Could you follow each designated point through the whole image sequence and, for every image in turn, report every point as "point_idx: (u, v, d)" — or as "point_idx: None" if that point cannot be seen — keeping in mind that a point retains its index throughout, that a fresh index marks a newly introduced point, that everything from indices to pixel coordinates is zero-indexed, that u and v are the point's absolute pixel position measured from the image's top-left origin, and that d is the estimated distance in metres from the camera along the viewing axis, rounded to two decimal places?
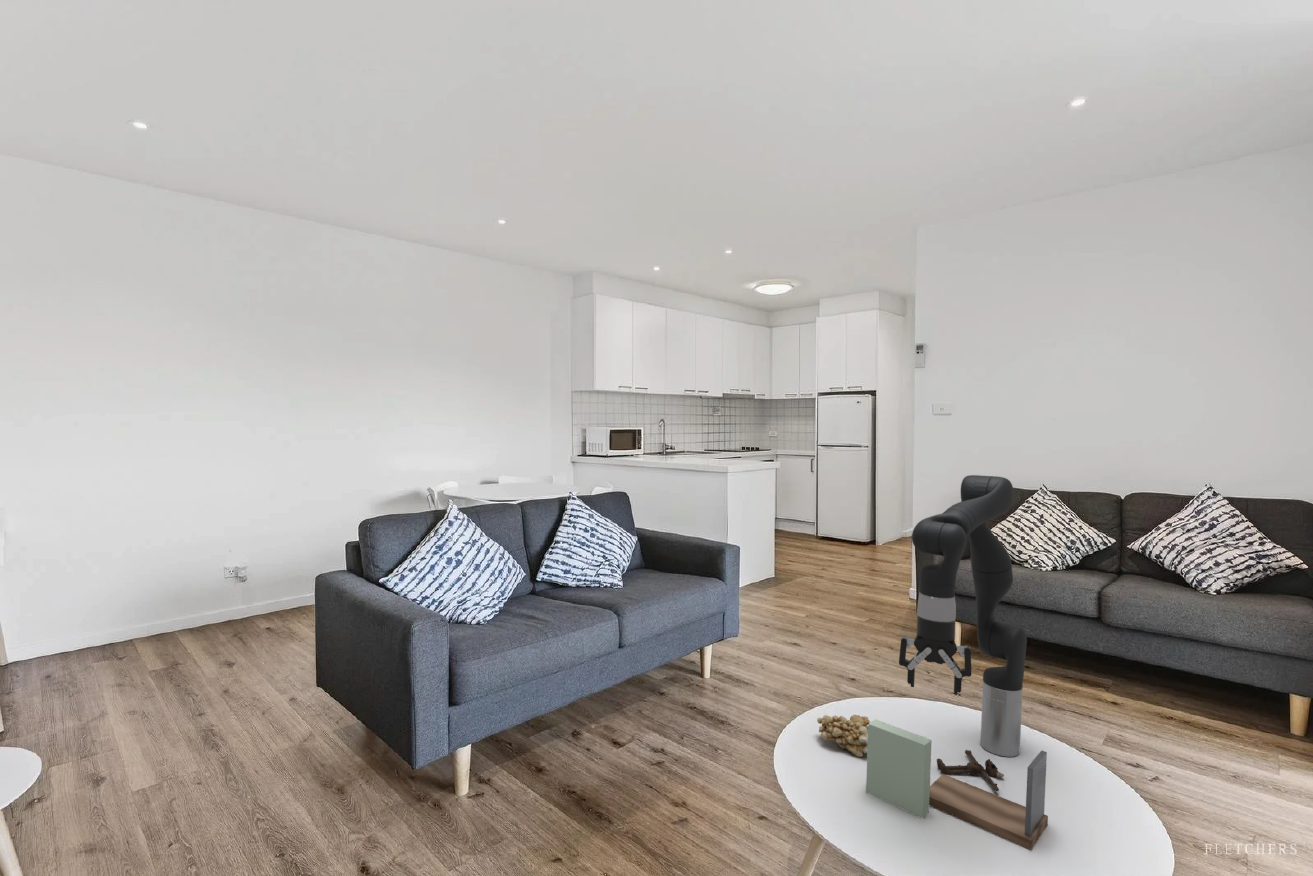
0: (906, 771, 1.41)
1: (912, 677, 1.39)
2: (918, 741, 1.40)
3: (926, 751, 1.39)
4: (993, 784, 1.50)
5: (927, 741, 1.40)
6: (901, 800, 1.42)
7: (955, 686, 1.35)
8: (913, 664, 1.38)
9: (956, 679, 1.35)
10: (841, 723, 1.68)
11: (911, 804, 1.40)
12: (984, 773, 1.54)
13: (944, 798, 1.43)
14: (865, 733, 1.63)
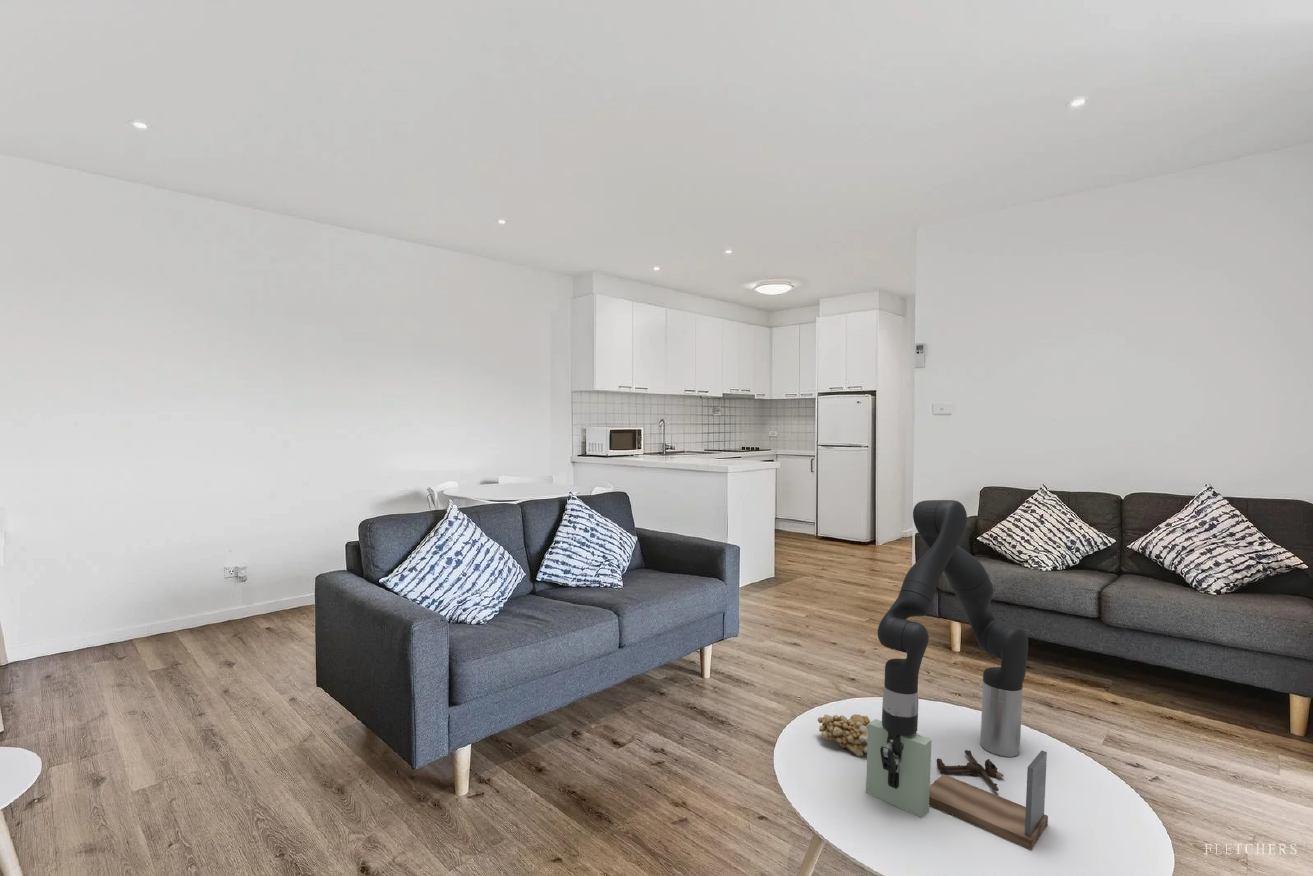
0: (906, 771, 1.41)
1: (898, 778, 1.42)
2: (918, 741, 1.40)
3: (926, 750, 1.39)
4: (993, 784, 1.50)
5: (927, 741, 1.40)
6: (901, 800, 1.42)
7: None
8: (898, 766, 1.42)
9: None
10: (841, 722, 1.68)
11: (911, 804, 1.40)
12: (984, 773, 1.54)
13: (944, 798, 1.43)
14: (865, 732, 1.64)
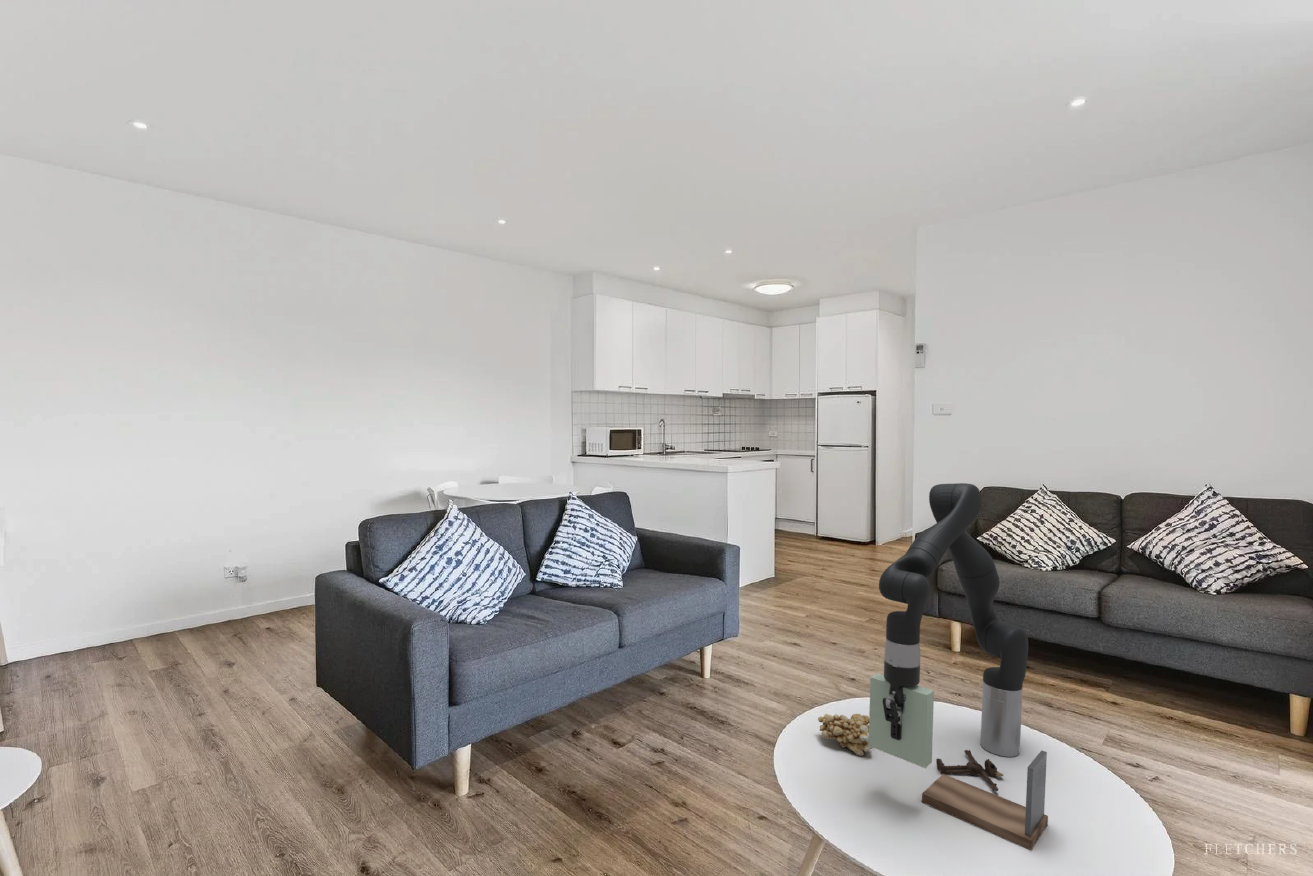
0: (908, 722, 1.41)
1: (901, 730, 1.42)
2: (920, 692, 1.39)
3: (928, 701, 1.38)
4: (992, 784, 1.50)
5: (929, 691, 1.40)
6: (904, 751, 1.42)
7: None
8: (901, 717, 1.41)
9: None
10: (842, 722, 1.68)
11: (914, 755, 1.40)
12: (983, 773, 1.54)
13: (944, 798, 1.43)
14: (866, 732, 1.64)
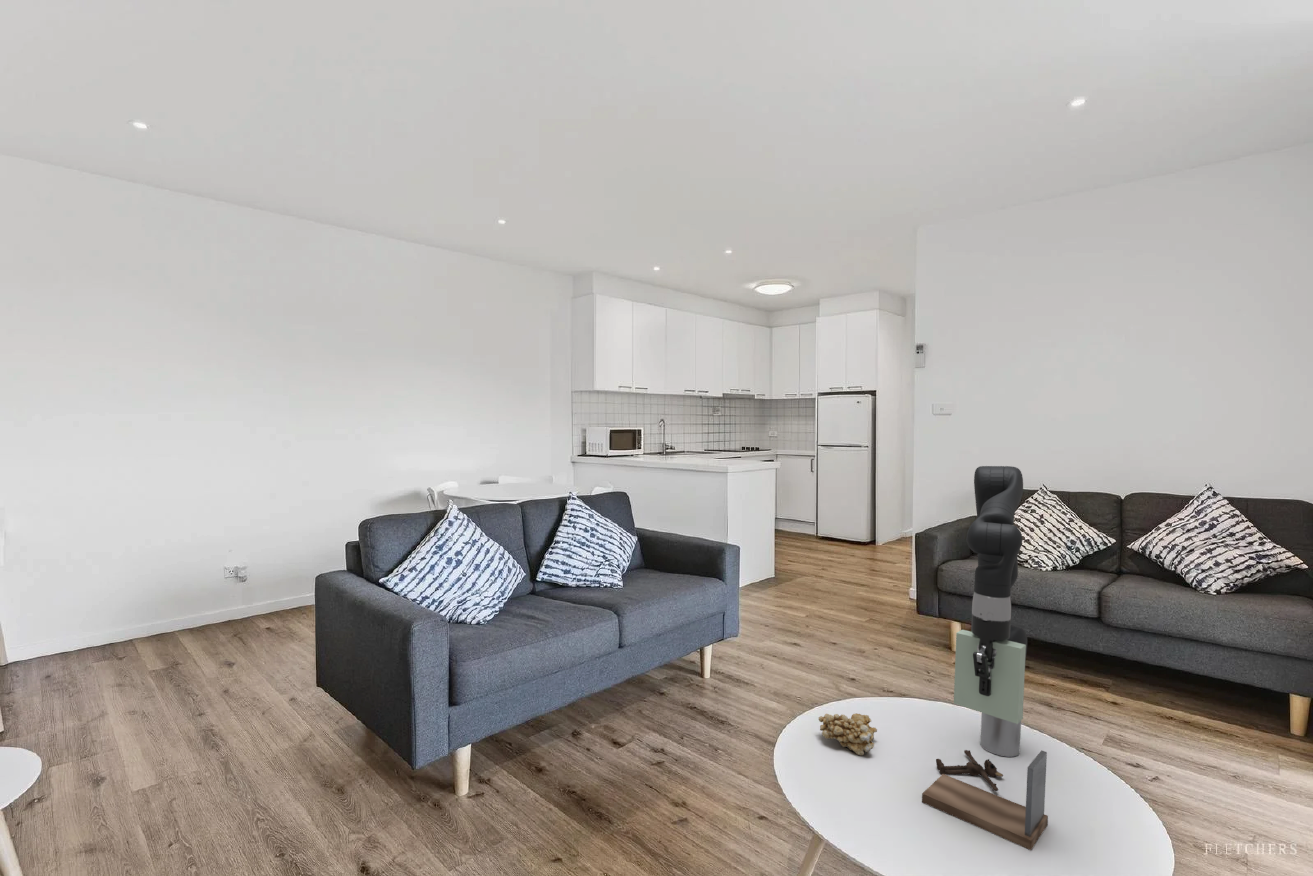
0: (999, 677, 1.37)
1: (990, 686, 1.38)
2: (1012, 645, 1.36)
3: (1021, 654, 1.35)
4: (992, 784, 1.50)
5: (1022, 645, 1.36)
6: (994, 707, 1.38)
7: None
8: (991, 673, 1.38)
9: None
10: (842, 721, 1.69)
11: (1005, 710, 1.36)
12: (983, 773, 1.54)
13: (944, 798, 1.43)
14: (866, 731, 1.64)
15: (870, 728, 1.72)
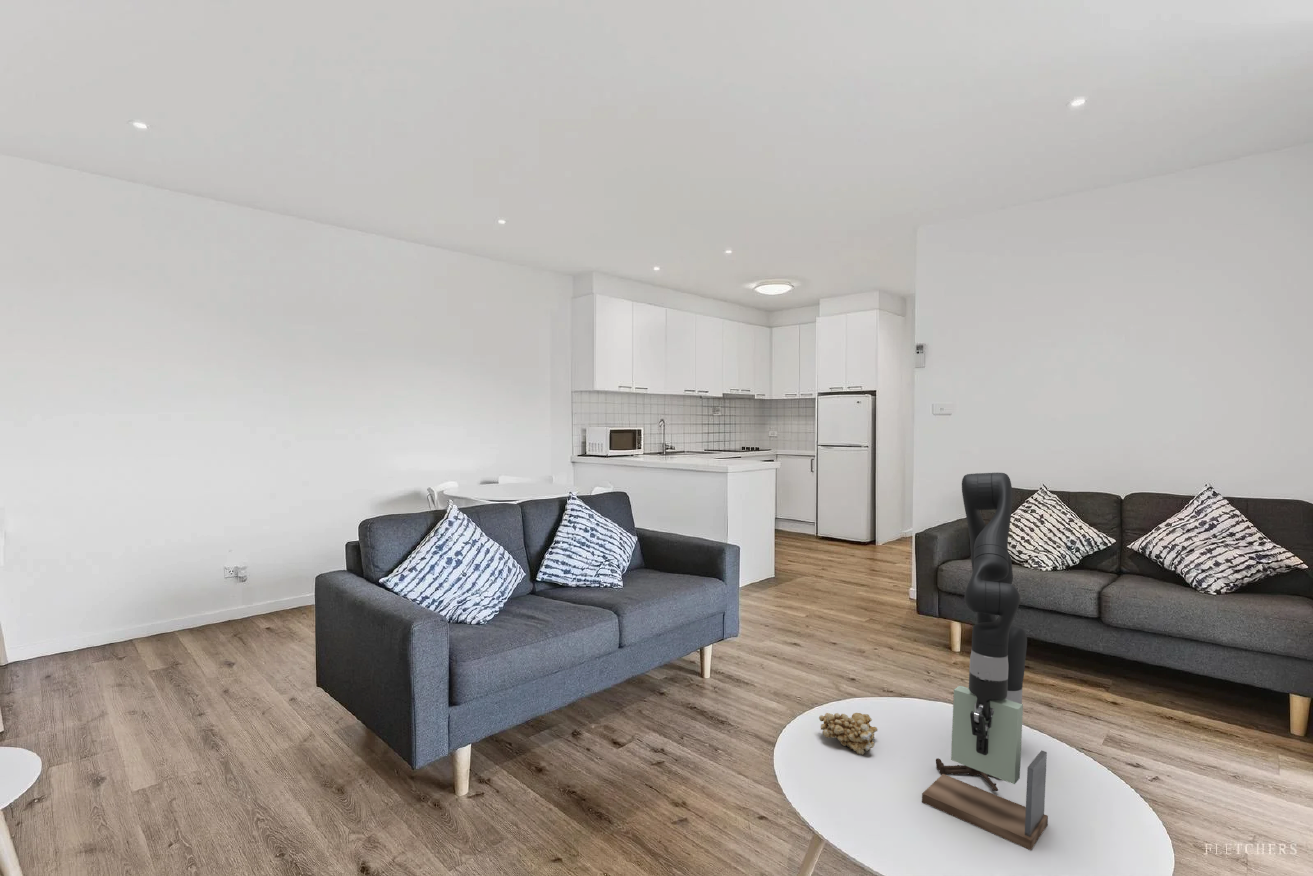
0: (996, 737, 1.37)
1: (987, 745, 1.38)
2: (1010, 705, 1.36)
3: (1018, 715, 1.35)
4: (992, 784, 1.50)
5: (1019, 705, 1.36)
6: (991, 766, 1.38)
7: None
8: (988, 732, 1.38)
9: None
10: (843, 721, 1.69)
11: (1002, 770, 1.36)
12: (983, 773, 1.54)
13: (944, 798, 1.43)
14: (866, 730, 1.65)
15: (870, 727, 1.72)
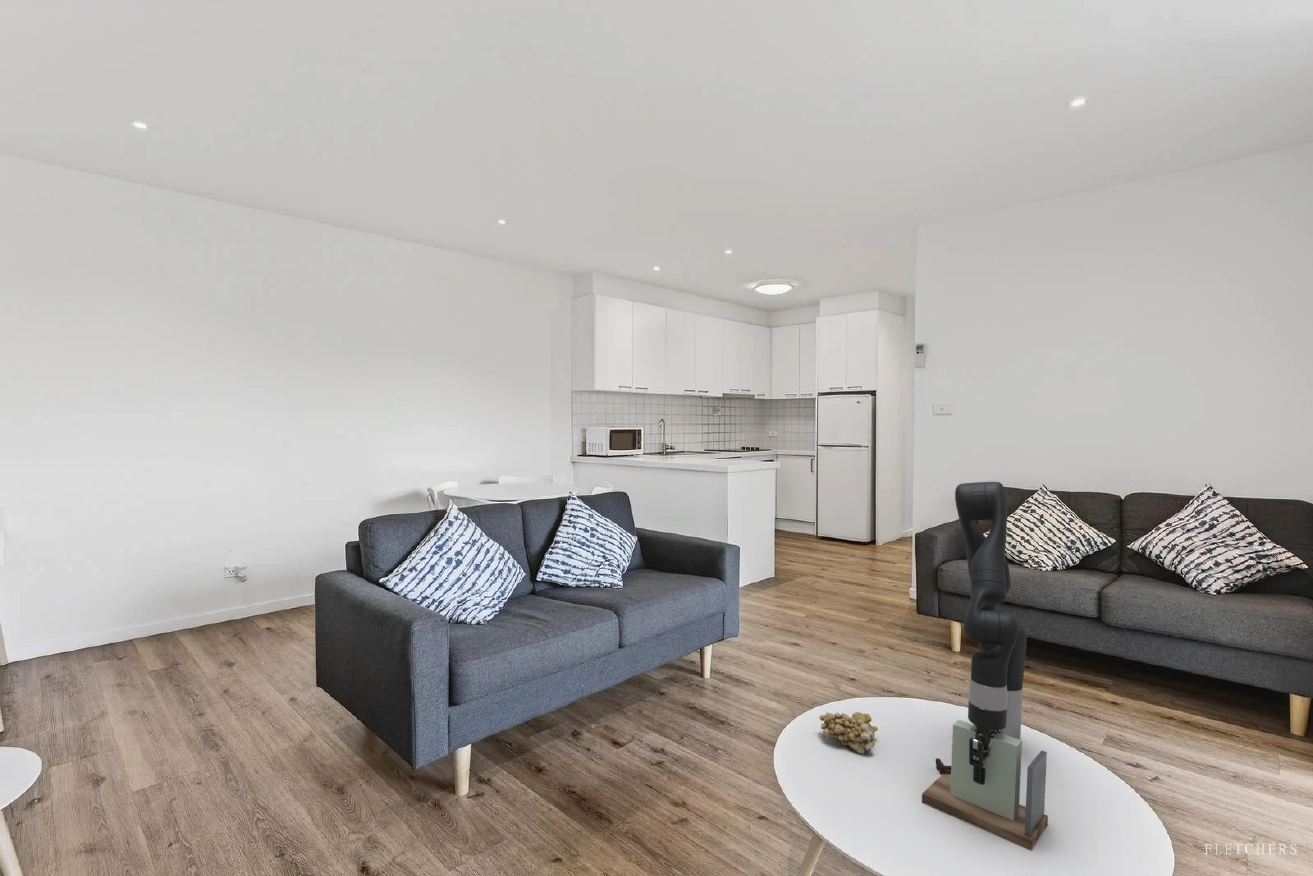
0: (995, 773, 1.38)
1: (984, 774, 1.37)
2: (1009, 742, 1.36)
3: (1017, 752, 1.35)
4: None
5: (1018, 742, 1.36)
6: (990, 802, 1.38)
7: None
8: (985, 761, 1.37)
9: None
10: (843, 720, 1.69)
11: (1002, 806, 1.37)
12: None
13: (944, 798, 1.43)
14: (867, 730, 1.65)
15: (871, 727, 1.72)
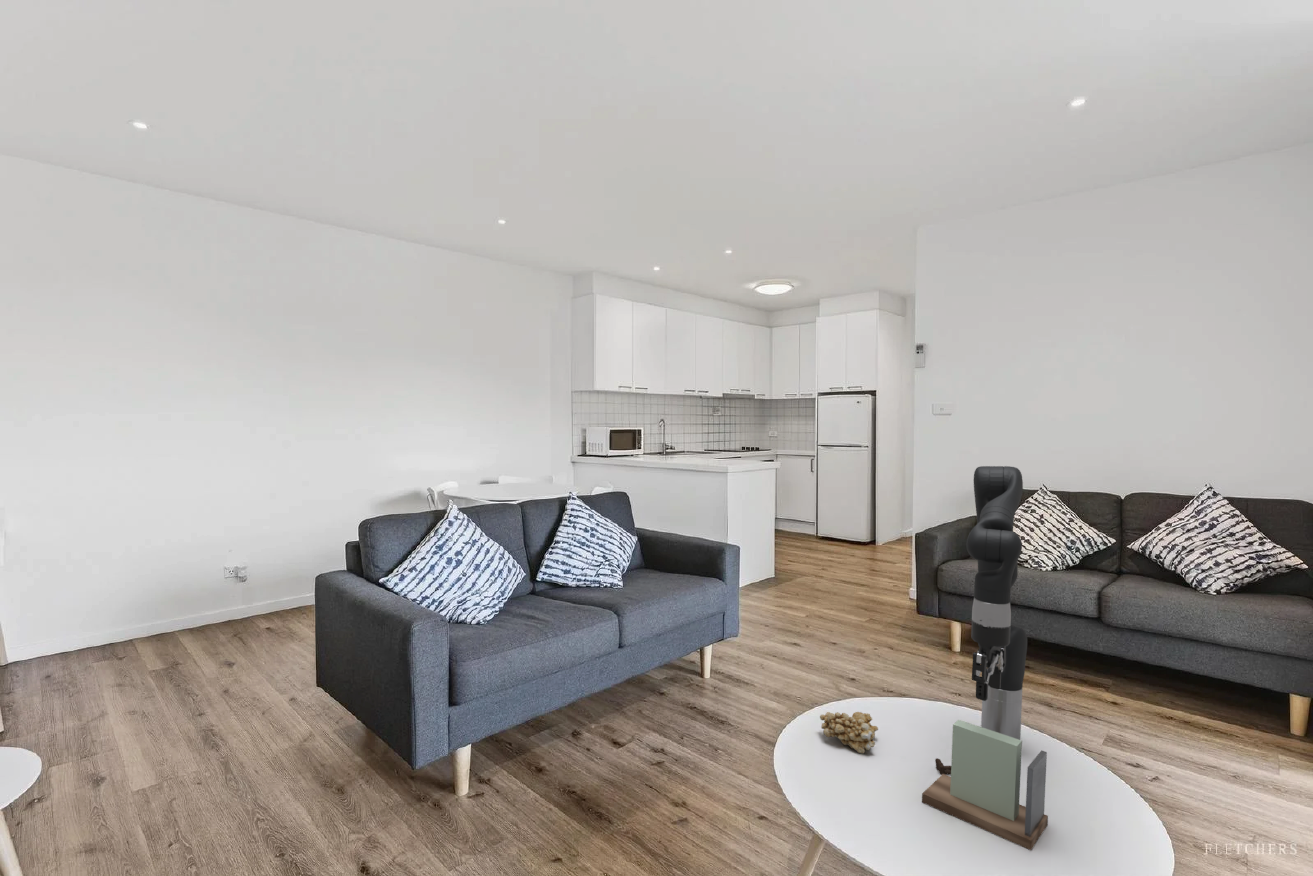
0: (995, 773, 1.38)
1: (987, 690, 1.37)
2: (1009, 742, 1.36)
3: (1017, 752, 1.35)
4: None
5: (1018, 742, 1.36)
6: (990, 802, 1.38)
7: (1000, 681, 1.43)
8: (988, 677, 1.37)
9: (1000, 674, 1.43)
10: (843, 720, 1.70)
11: (1002, 806, 1.37)
12: None
13: (944, 798, 1.43)
14: (867, 730, 1.65)
15: (871, 726, 1.73)
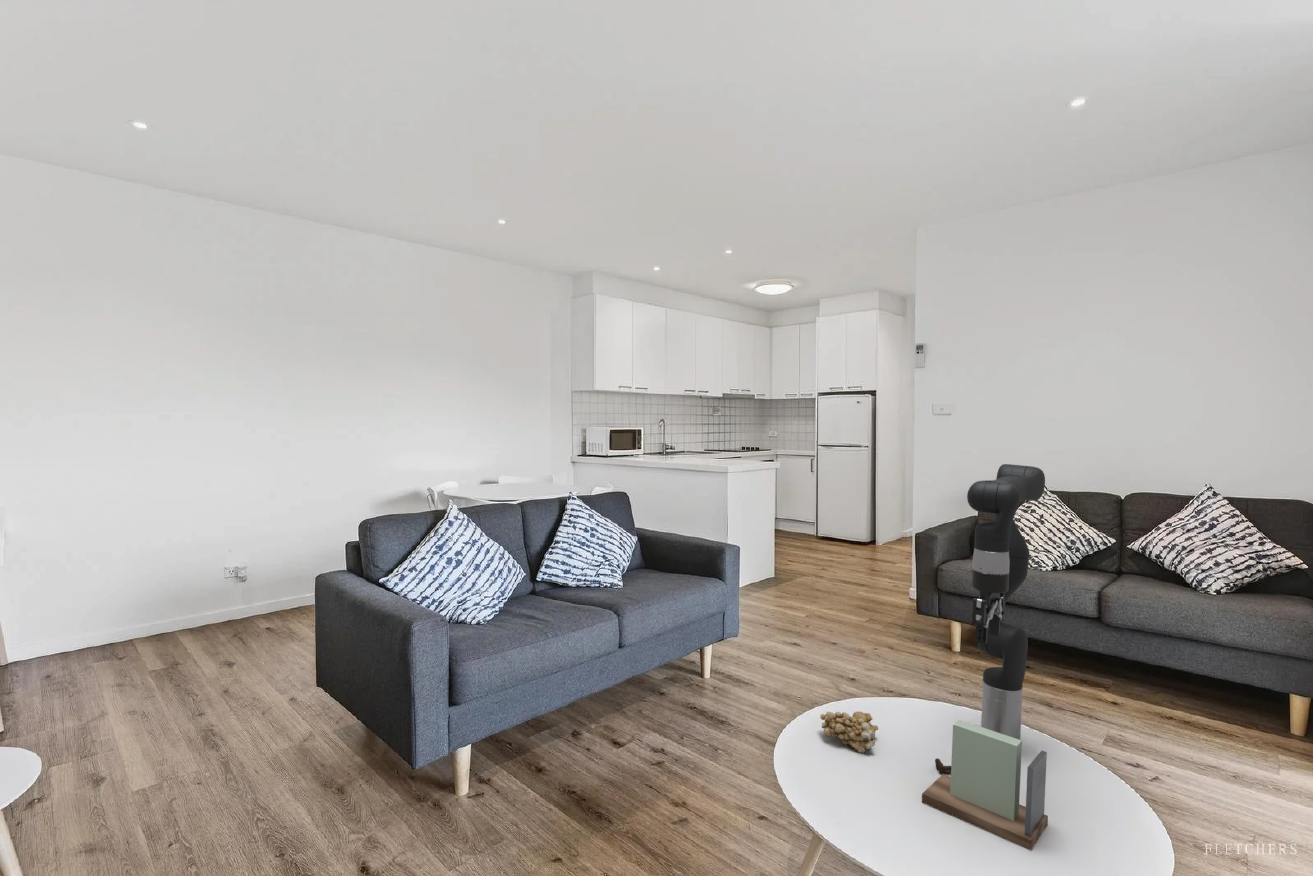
0: (995, 773, 1.38)
1: (986, 634, 1.44)
2: (1009, 742, 1.36)
3: (1017, 752, 1.35)
4: None
5: (1018, 742, 1.36)
6: (990, 802, 1.38)
7: (999, 628, 1.50)
8: (987, 622, 1.44)
9: (999, 621, 1.50)
10: (844, 719, 1.70)
11: (1002, 806, 1.37)
12: None
13: (944, 798, 1.43)
14: (867, 729, 1.65)
15: (871, 726, 1.73)
